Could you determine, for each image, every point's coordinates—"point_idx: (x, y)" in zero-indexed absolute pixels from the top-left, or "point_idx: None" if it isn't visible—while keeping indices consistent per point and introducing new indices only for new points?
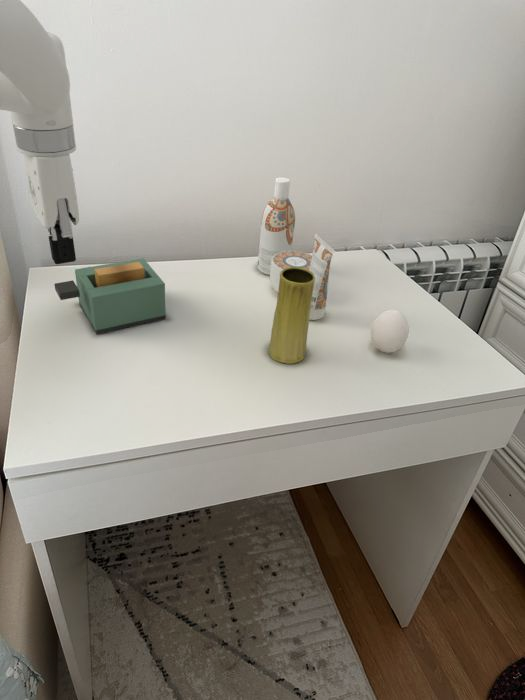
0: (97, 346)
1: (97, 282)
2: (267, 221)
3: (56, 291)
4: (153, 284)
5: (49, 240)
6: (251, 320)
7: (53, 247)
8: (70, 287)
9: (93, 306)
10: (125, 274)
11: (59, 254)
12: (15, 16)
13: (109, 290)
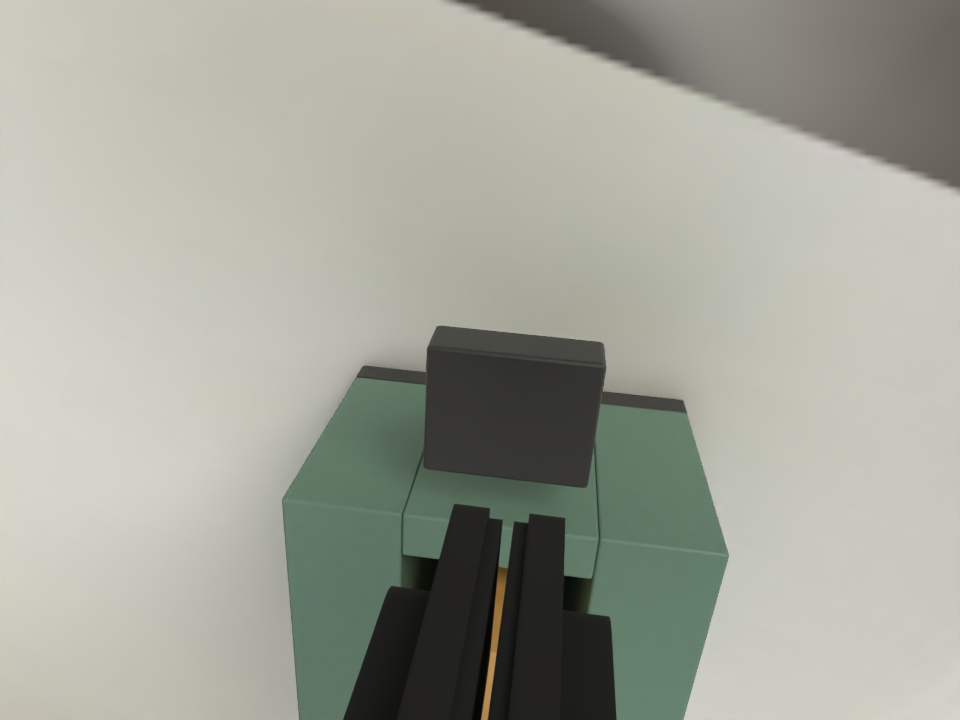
0: (265, 331)
1: (496, 591)
2: None
3: (553, 340)
4: None
5: (530, 714)
6: None
7: (416, 660)
8: (487, 438)
9: (307, 460)
10: None
11: (389, 623)
12: None
13: (331, 606)
